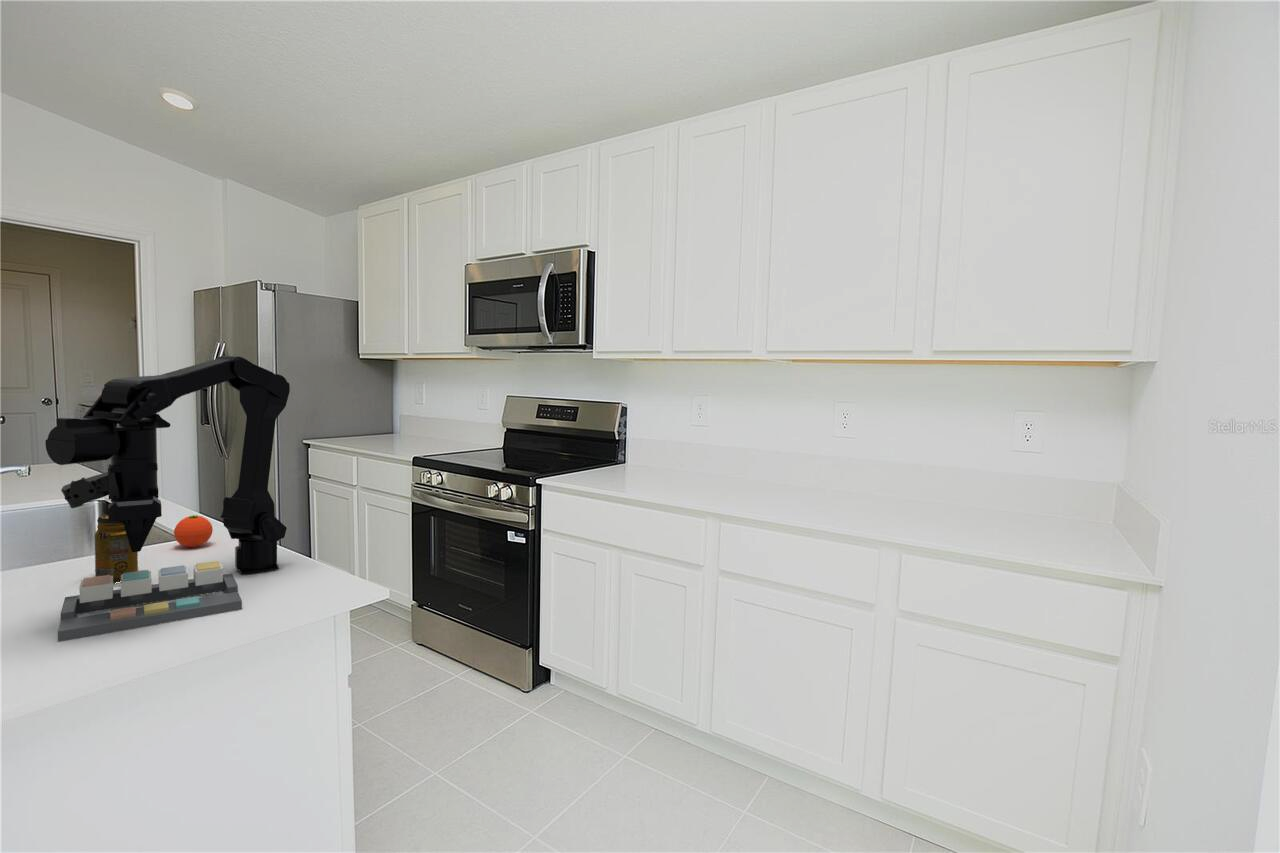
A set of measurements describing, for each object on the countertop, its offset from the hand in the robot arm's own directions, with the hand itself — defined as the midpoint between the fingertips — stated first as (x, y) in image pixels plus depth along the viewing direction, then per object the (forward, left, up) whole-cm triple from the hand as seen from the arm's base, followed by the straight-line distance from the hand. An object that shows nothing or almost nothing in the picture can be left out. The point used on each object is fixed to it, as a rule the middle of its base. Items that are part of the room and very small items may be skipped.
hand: (136, 551), depth 98 cm
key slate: (-5, 0, -8) cm, 9 cm away
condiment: (+3, -20, -10) cm, 23 cm away
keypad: (-2, +1, -10) cm, 10 cm away
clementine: (-10, -38, -10) cm, 41 cm away
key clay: (+5, 0, -8) cm, 9 cm away
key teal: (0, 0, -8) cm, 8 cm away
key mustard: (-10, 0, -8) cm, 12 cm away
